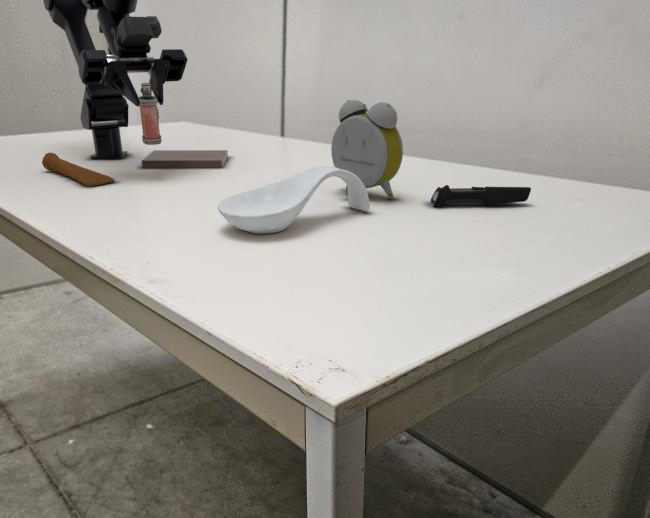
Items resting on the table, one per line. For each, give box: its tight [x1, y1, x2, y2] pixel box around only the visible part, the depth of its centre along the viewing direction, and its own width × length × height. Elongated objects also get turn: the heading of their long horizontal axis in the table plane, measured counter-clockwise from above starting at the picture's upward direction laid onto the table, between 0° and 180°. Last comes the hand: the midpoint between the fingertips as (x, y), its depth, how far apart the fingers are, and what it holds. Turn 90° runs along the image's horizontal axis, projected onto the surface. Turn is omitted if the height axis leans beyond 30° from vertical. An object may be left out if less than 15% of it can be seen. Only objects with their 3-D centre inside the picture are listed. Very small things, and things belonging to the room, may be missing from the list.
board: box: [141, 149, 229, 169], centre depth 129 cm, size 12×16×2 cm
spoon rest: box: [217, 165, 371, 235], centre depth 88 cm, size 24×12×7 cm, turn 127°
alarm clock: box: [330, 99, 404, 200], centre depth 100 cm, size 12×7×15 cm, turn 47°
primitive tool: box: [41, 152, 115, 187], centre depth 115 cm, size 19×6×4 cm, turn 51°
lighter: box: [138, 82, 162, 146], centre depth 111 cm, size 8×3×10 cm, turn 16°
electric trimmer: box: [430, 184, 532, 208], centre depth 98 cm, size 4×16×3 cm, turn 91°
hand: (150, 104), depth 110 cm, fingers closed on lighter, 4 cm apart
